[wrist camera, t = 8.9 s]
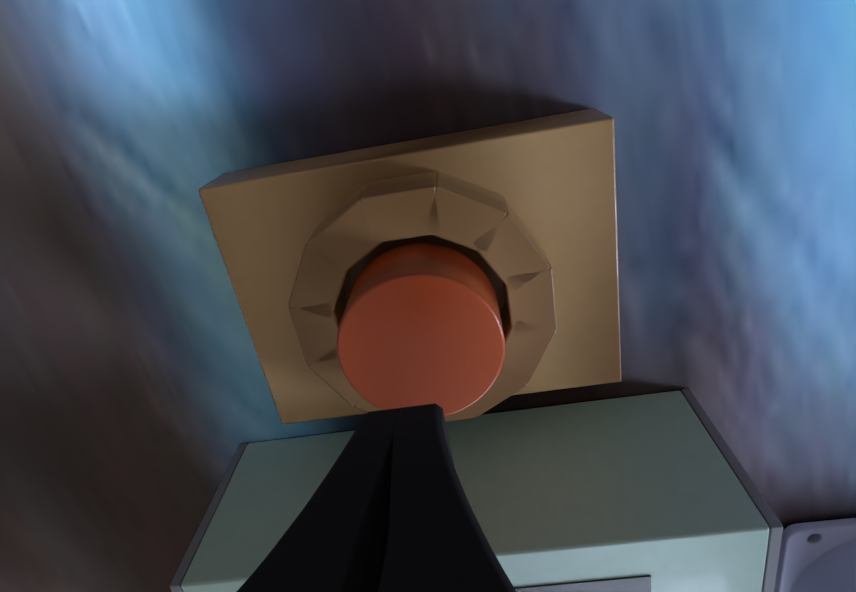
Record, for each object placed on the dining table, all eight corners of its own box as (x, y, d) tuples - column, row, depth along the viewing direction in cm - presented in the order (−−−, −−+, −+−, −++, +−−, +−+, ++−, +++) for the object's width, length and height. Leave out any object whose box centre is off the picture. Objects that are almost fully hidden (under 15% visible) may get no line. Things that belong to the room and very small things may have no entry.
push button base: (595, 107, 15) (634, 127, 12) (606, 350, 19) (638, 414, 16) (222, 172, 16) (169, 206, 13) (295, 391, 20) (267, 459, 17)
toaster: (689, 387, 19) (785, 528, 14) (682, 578, 24) (753, 743, 18) (239, 443, 21) (167, 588, 16) (308, 612, 25) (271, 773, 20)
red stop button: (487, 230, 14) (494, 261, 12) (505, 364, 16) (514, 409, 14) (333, 254, 14) (316, 288, 12) (367, 382, 16) (357, 429, 14)
